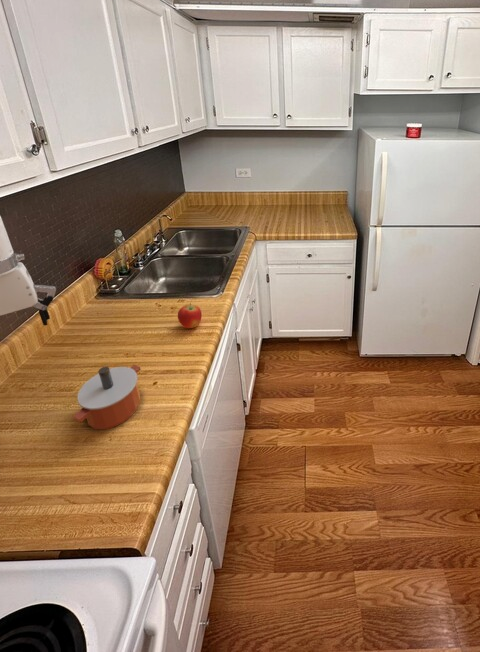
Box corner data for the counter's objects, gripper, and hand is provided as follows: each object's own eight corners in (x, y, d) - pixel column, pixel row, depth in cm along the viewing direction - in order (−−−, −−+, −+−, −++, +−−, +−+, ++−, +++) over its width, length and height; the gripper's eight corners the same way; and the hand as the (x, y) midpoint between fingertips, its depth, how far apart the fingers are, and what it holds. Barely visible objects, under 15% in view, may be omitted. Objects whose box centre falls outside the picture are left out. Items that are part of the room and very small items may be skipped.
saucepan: (65, 429, 84) (57, 407, 82) (125, 377, 100) (120, 358, 97) (101, 445, 80) (94, 424, 78) (158, 389, 96) (153, 369, 93)
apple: (184, 319, 126) (180, 297, 123) (205, 319, 127) (202, 296, 123) (176, 333, 119) (172, 310, 115) (199, 332, 119) (195, 309, 116)
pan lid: (65, 401, 84) (58, 382, 81) (112, 364, 96) (107, 346, 93) (105, 418, 80) (98, 398, 77) (149, 377, 91) (145, 358, 89)
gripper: (43, 248, 78) (63, 309, 84) (-63, 270, 68) (-31, 338, 74) (45, 259, 73) (66, 323, 79) (-70, 285, 62) (-35, 357, 69)
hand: (19, 330), depth 77 cm, fingers open, 9 cm apart
